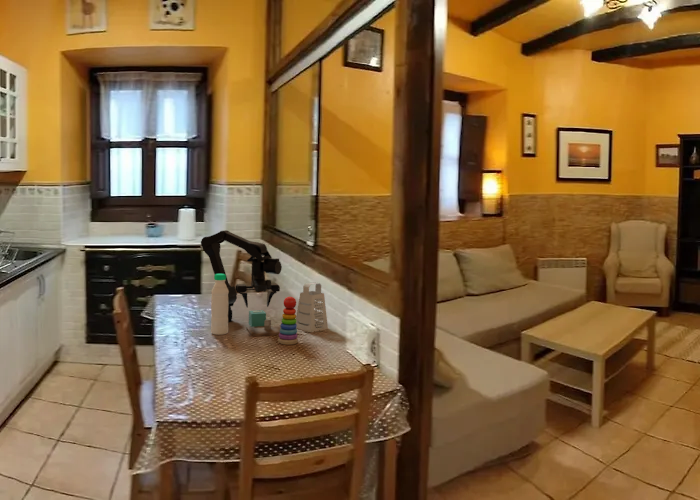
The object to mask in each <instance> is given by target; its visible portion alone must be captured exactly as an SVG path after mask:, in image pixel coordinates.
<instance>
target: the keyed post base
mask: <svg viewBox="0 0 700 500" xmlns="http://www.w3.org/2000/svg"><path fill="white" fill-rule="evenodd" d="M280 325H281V324H280ZM280 325H279V324H278V325H277V324H276V325H272V319H267V318H266V320H265V321H264V326H256V327H251V326H246V327H245V328H246V331H247V332H248V333H249V335H250V336H251V337H260V336H261V337H262V336H279V333H280V328H281V326H280Z"/></svg>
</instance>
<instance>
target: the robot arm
mask: <svg viewBox="0 0 700 500" xmlns="http://www.w3.org/2000/svg"><path fill="white" fill-rule="evenodd" d="M224 242H227V243H229V244H231V245H233V246H236V247H238V248H240V249H242V250H243V251H245V252H246V253H247V254H248V255H249V256H250V257H249V258H248V259H247V260H246V261H247V262H251V271H250V272H251V274H250V277H251V282H250V285H246V284H245V283H237V284H236V285H235V286H233V285H230V283H229V280H228V276H227V273H226V270H225V267H224V264H223V260H222V257H221V254H220V253H221V244H222V243H224ZM200 246H201V248H202V249H203V252H204V253H205V255H207V257H208V258H209V262H210V265H211V268H212V271H213V274H214V275H215V274H225V275H226V280H225V284H226V286H227V288H228V291H229V293H228V323H229V322H233V310H232V307H234V303H235V302H236V301H237V298H238V296H237V295H238V293H239V294H240V295H241V296H242V298H243V301H244V305H245V307H246V308H249V307H248V304H249V303H248V301H249V300H248V292H247V291H255V292H256V293H257V292H258V293H259V292H263V293H264V292H267V293H266V295H267V296H266V307H267V308H268V307H269V306H270V304H271V300H272V298H273V296H274V295H275V294H277V292H280V291H281V290H280V289H281V288H280V287H281V285H279V284H278V283H275V282H272V280H271V279H266V275H265V274H269V275H270V274H271V275H279V274H281V271H282V269H283V268H282V263H281V261H280V258H273V257H272V255H271V254H270V252H269V251H268V248H267V245H266V244H265V243H264V242H263V243H262V242H260V241H259V242H257V241H252V240H248V239H246V238H245V237H242V236H239V235H238V234H236V233H234V232H233V233H232V232H231V231H230V230H227V229H226V230H220V231H219V232H217V233H214V234H212V235H209V236H203V238H202V239H201V241H200Z"/></svg>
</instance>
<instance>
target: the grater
mask: <svg viewBox="0 0 700 500" xmlns="http://www.w3.org/2000/svg"><path fill="white" fill-rule="evenodd" d="M311 285H315V291H314V290H310V287H311ZM302 289H303V290H302V292H299V299H298V303H297V310H296V314H295V315H296V318H295V319H296V320H297V322H296V325H297V327H296V329H297V330H301V331H304V332H308V333H314V331H315V332H319V330H320V331H324V330H328V329H329V325H328V316H327V307H326V300H325V299H326V298H325V297H326V296H325V293H324V292H322V284H321V283H320V282H319V283H318V282H306V283H304V284H303V288H302ZM320 326H321V327H320ZM323 329H324V330H323Z"/></svg>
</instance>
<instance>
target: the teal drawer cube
mask: <svg viewBox="0 0 700 500" xmlns="http://www.w3.org/2000/svg"><path fill="white" fill-rule="evenodd" d="M266 319H267V312H265V311H264V310H262V309H261V310H248V325H249V327H256V326H264V321H265V320H266Z"/></svg>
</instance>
